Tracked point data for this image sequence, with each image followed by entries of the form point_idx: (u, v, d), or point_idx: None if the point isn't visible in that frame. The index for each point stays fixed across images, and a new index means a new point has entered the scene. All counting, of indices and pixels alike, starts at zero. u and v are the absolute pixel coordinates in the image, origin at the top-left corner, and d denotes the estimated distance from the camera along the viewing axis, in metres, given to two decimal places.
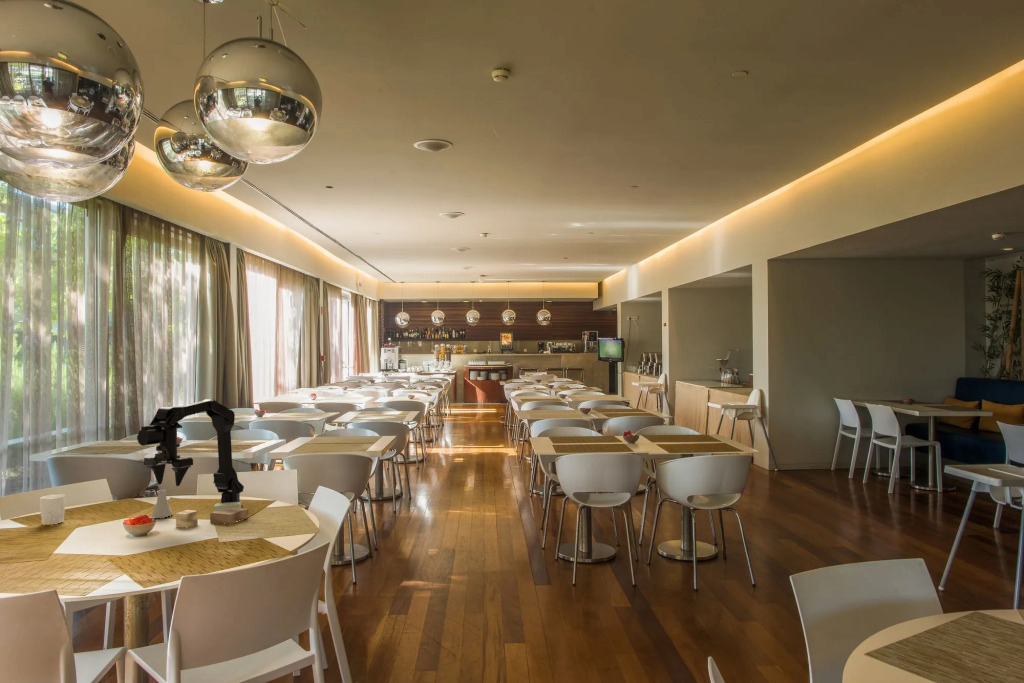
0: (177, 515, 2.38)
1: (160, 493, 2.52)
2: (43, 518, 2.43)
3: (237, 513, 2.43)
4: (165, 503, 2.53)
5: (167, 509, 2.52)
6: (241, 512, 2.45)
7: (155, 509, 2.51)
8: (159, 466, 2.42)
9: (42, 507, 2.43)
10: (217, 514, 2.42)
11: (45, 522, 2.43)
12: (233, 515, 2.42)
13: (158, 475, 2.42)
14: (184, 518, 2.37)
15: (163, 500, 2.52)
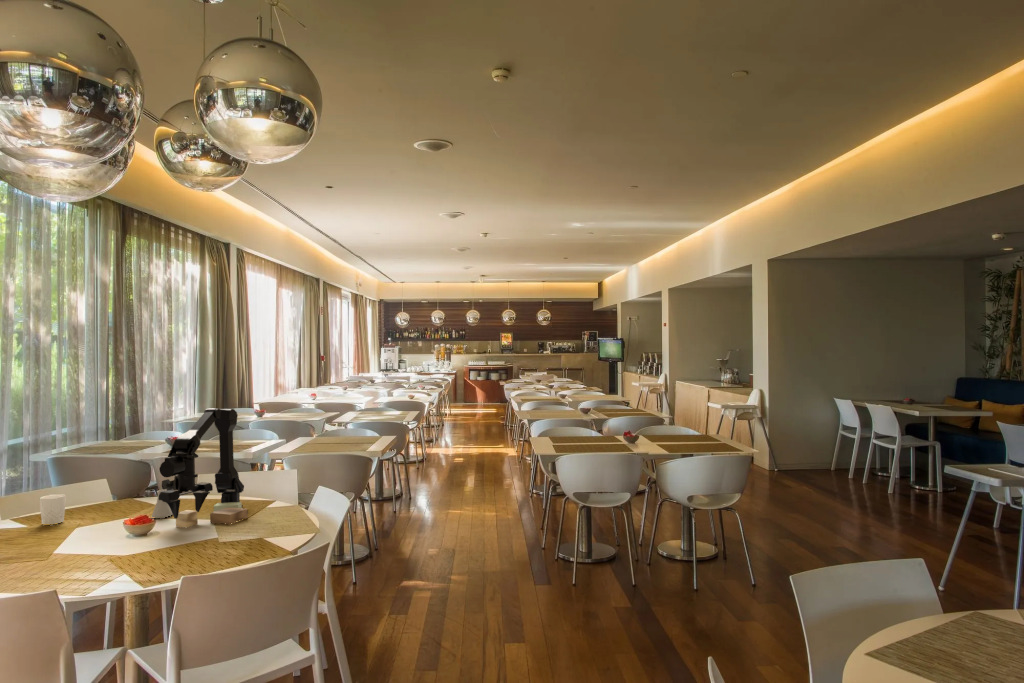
0: None
1: None
2: (43, 518, 2.43)
3: (237, 513, 2.44)
4: (165, 503, 2.52)
5: (167, 509, 2.52)
6: (241, 512, 2.45)
7: (155, 509, 2.51)
8: (198, 494, 2.44)
9: (42, 507, 2.43)
10: (217, 514, 2.42)
11: (45, 522, 2.43)
12: (233, 515, 2.42)
13: (197, 502, 2.44)
14: (184, 518, 2.37)
15: None
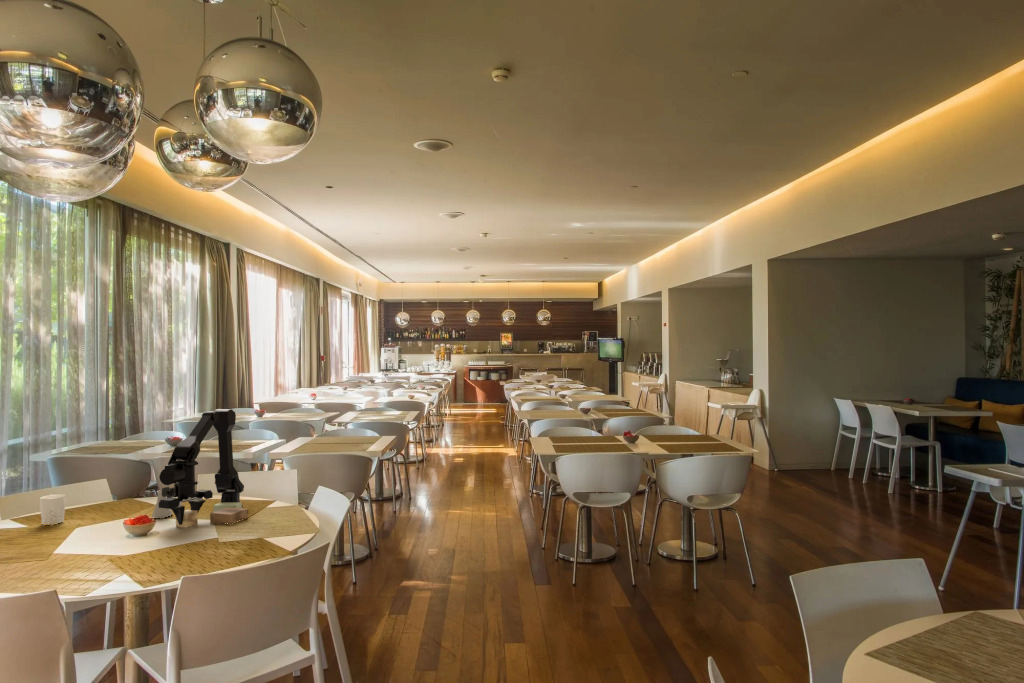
0: None
1: (160, 493, 2.52)
2: (43, 518, 2.43)
3: (238, 513, 2.44)
4: None
5: (167, 509, 2.52)
6: (241, 512, 2.46)
7: (155, 509, 2.51)
8: (194, 503, 2.43)
9: (42, 507, 2.43)
10: (217, 514, 2.42)
11: (45, 522, 2.43)
12: (234, 515, 2.42)
13: None
14: (184, 517, 2.37)
15: None
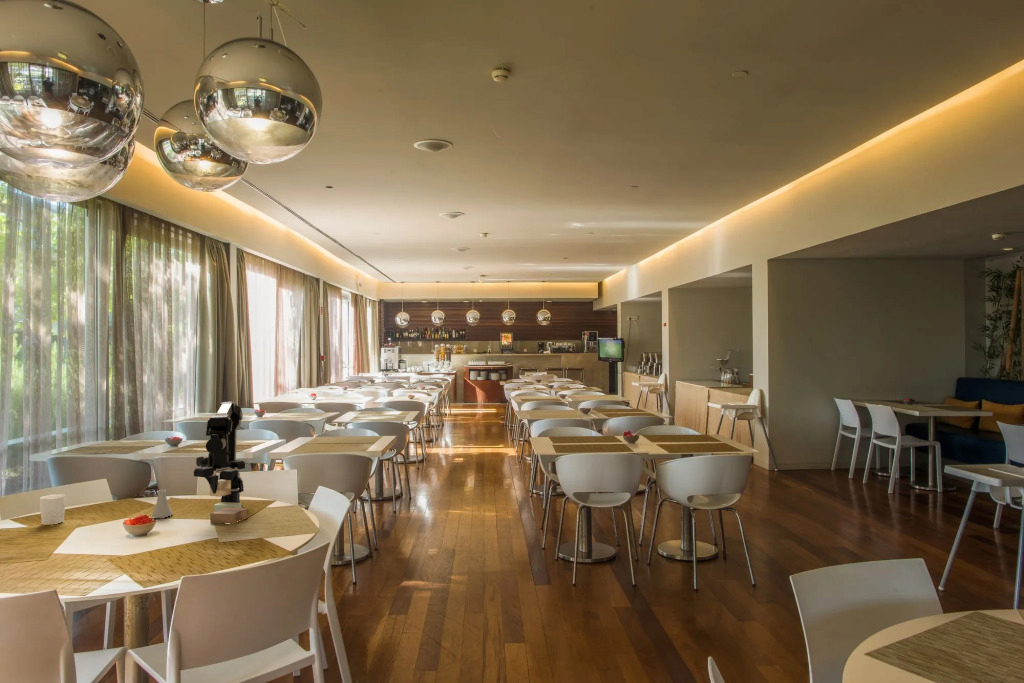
0: None
1: (160, 493, 2.52)
2: (43, 518, 2.43)
3: (238, 513, 2.44)
4: (165, 503, 2.52)
5: (167, 509, 2.52)
6: (242, 512, 2.46)
7: (155, 509, 2.51)
8: (227, 473, 2.48)
9: (42, 507, 2.43)
10: (218, 514, 2.42)
11: (45, 522, 2.43)
12: (235, 514, 2.42)
13: None
14: (218, 486, 2.42)
15: (162, 500, 2.52)
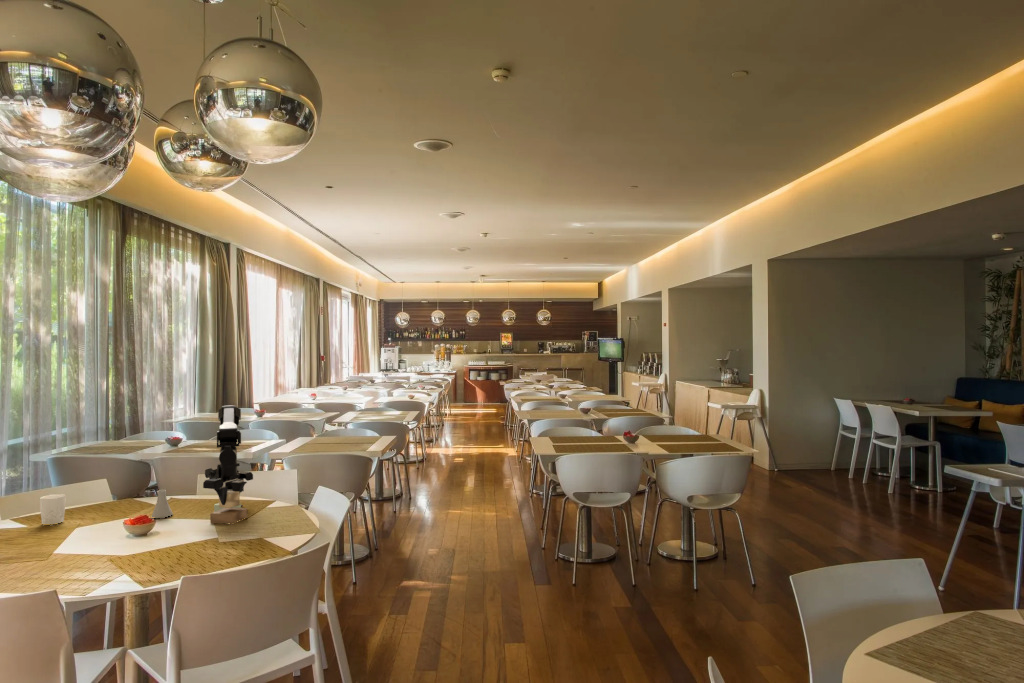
0: None
1: (160, 493, 2.52)
2: (43, 518, 2.43)
3: (238, 513, 2.44)
4: (165, 503, 2.52)
5: (167, 509, 2.52)
6: (242, 512, 2.46)
7: (155, 509, 2.51)
8: (236, 484, 2.49)
9: (42, 507, 2.43)
10: (218, 514, 2.41)
11: (45, 522, 2.43)
12: (235, 514, 2.42)
13: None
14: (227, 498, 2.43)
15: (162, 500, 2.52)
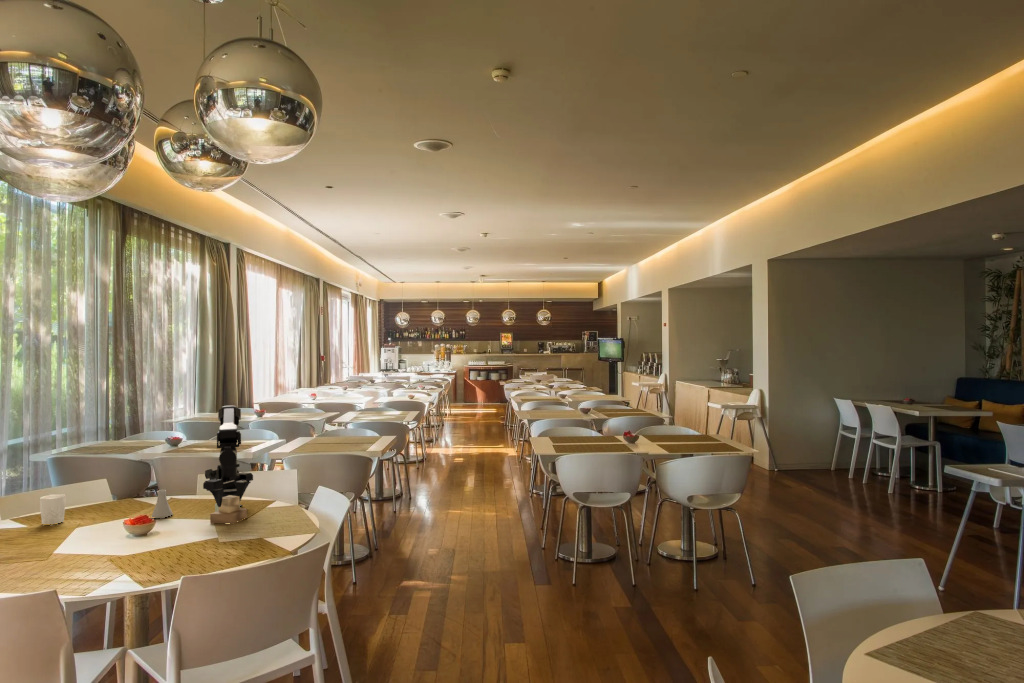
0: None
1: (160, 493, 2.52)
2: (43, 518, 2.43)
3: (238, 513, 2.44)
4: (165, 503, 2.52)
5: (167, 509, 2.52)
6: (242, 512, 2.46)
7: (155, 509, 2.51)
8: (240, 484, 2.51)
9: (42, 507, 2.43)
10: (218, 515, 2.41)
11: (45, 522, 2.43)
12: (235, 515, 2.42)
13: (238, 492, 2.51)
14: (227, 503, 2.43)
15: (162, 500, 2.52)
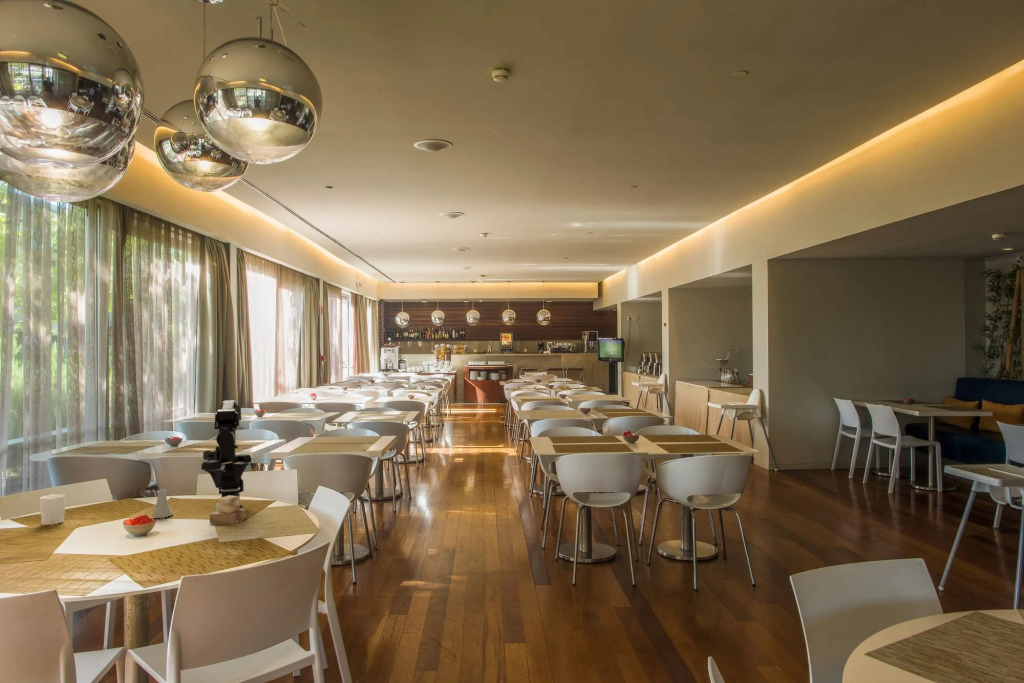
0: (220, 500, 2.44)
1: (160, 493, 2.52)
2: (43, 518, 2.43)
3: (238, 513, 2.44)
4: (165, 503, 2.52)
5: (167, 509, 2.52)
6: (241, 512, 2.46)
7: (155, 509, 2.51)
8: (238, 465, 2.51)
9: (42, 507, 2.43)
10: (218, 515, 2.41)
11: (45, 522, 2.43)
12: (235, 515, 2.42)
13: (236, 473, 2.51)
14: (226, 503, 2.43)
15: (162, 500, 2.52)
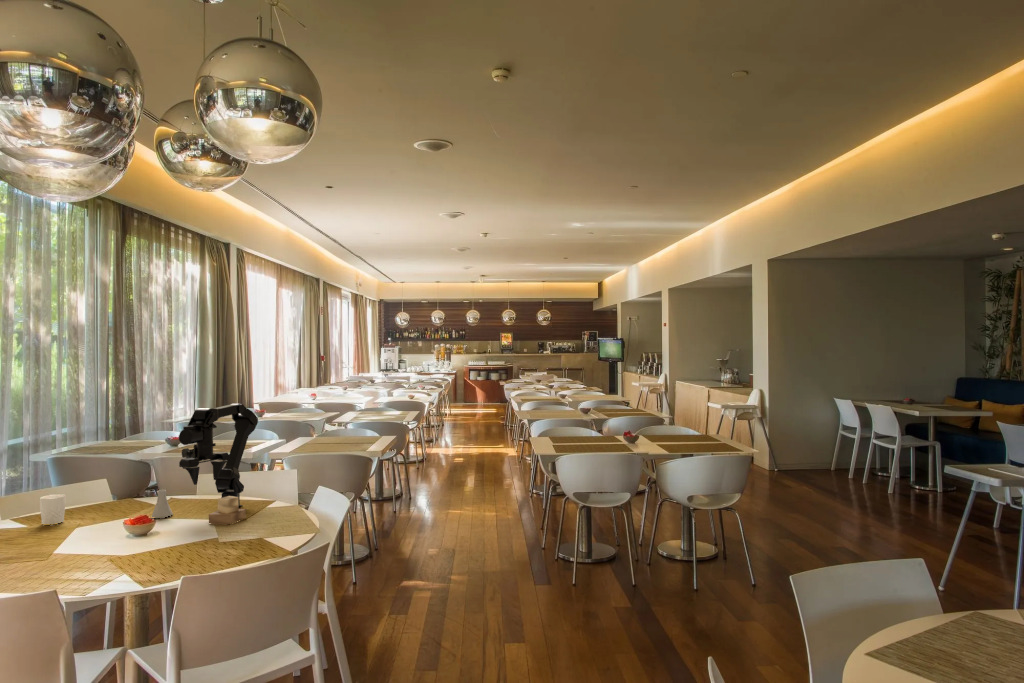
0: (219, 500, 2.44)
1: (160, 493, 2.52)
2: (43, 518, 2.43)
3: (237, 513, 2.43)
4: (165, 503, 2.52)
5: (167, 509, 2.52)
6: (240, 512, 2.45)
7: (155, 509, 2.51)
8: (216, 463, 2.57)
9: (42, 507, 2.43)
10: (217, 515, 2.41)
11: (45, 522, 2.43)
12: (234, 515, 2.41)
13: (214, 471, 2.57)
14: (225, 503, 2.42)
15: (162, 500, 2.52)
